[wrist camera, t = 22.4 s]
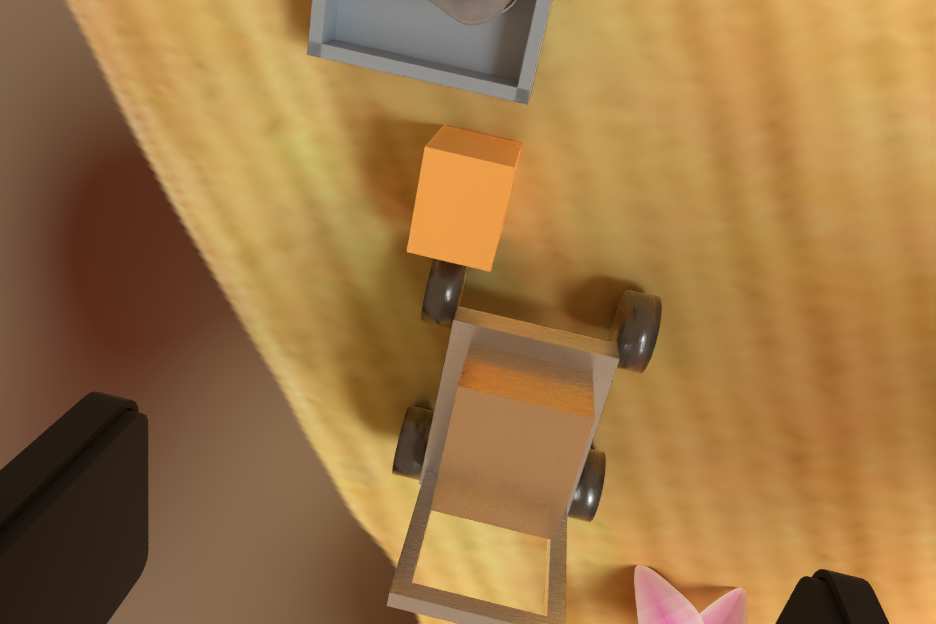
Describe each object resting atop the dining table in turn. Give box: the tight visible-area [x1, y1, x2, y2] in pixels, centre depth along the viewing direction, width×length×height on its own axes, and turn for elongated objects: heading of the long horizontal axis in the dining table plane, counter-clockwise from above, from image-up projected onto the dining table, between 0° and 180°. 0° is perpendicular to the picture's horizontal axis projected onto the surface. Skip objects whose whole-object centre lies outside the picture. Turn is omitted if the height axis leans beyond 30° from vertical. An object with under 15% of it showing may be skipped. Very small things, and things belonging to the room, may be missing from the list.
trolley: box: [387, 259, 662, 624], centre depth 35 cm, size 11×14×14 cm
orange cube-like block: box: [407, 125, 522, 272], centre depth 35 cm, size 4×5×5 cm
